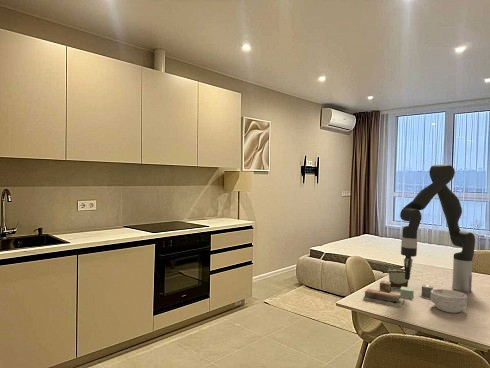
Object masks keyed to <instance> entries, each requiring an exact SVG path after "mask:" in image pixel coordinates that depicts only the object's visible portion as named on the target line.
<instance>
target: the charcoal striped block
mask: <svg viewBox="0 0 490 368" xmlns="http://www.w3.org/2000/svg"><path fill="white" fill-rule="evenodd" d="M433 289H434V286H433V285H429V284H422V285H421V296H422V297H426V298H430V297H431V296H430V295H431V290H433Z"/></svg>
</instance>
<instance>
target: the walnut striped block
mask: <svg viewBox="0 0 490 368" xmlns="http://www.w3.org/2000/svg"><path fill="white" fill-rule="evenodd" d="M391 289H392V287H391V282H389V281H385V280H381V281H380V282H379V289H378V291H382V292H387V293H391V291H392V290H391Z"/></svg>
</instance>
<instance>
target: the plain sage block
mask: <svg viewBox="0 0 490 368" xmlns="http://www.w3.org/2000/svg"><path fill="white" fill-rule="evenodd" d="M399 289H400V292H399V293H400V294H399V295H400V298H401V297H402V298H406V299H414V293H415V291H414V290H415V289H414V288H413V287H401V288H399Z"/></svg>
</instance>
